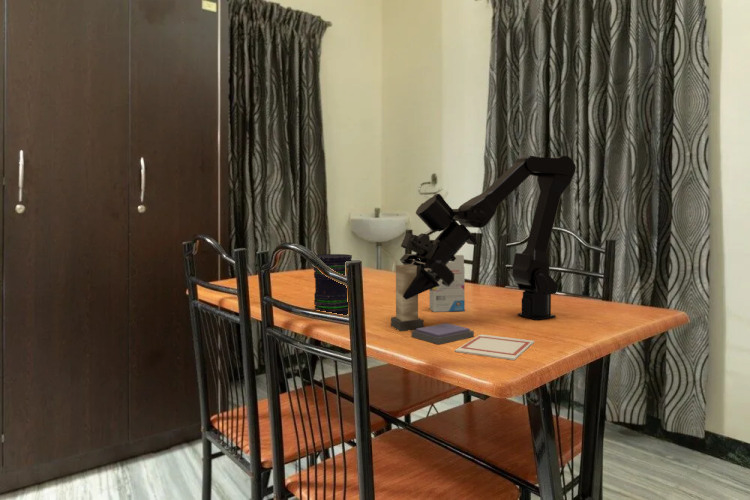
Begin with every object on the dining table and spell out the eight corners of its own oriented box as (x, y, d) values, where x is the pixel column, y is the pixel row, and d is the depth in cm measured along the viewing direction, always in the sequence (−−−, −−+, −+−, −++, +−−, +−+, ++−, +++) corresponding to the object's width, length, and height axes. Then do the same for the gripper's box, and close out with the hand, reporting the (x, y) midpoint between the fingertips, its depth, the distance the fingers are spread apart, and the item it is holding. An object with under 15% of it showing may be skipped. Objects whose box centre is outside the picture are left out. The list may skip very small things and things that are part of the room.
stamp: (413, 324, 117) (413, 263, 116) (423, 329, 111) (423, 266, 110) (391, 325, 115) (390, 264, 114) (399, 331, 110) (399, 267, 109)
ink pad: (446, 329, 110) (446, 322, 110) (473, 336, 104) (473, 328, 104) (411, 336, 104) (411, 328, 104) (438, 344, 98) (438, 335, 98)
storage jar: (338, 319, 123) (337, 258, 122) (306, 315, 128) (305, 256, 127) (360, 312, 131) (359, 254, 130) (329, 308, 136) (329, 253, 135)
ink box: (459, 307, 136) (460, 253, 135) (464, 311, 131) (465, 254, 130) (428, 308, 135) (428, 253, 134) (432, 312, 130) (432, 255, 129)
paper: (480, 335, 105) (480, 333, 105) (534, 342, 99) (534, 340, 99) (454, 351, 93) (454, 349, 93) (514, 360, 87) (514, 357, 87)
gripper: (407, 220, 121) (364, 267, 119) (441, 221, 104) (390, 277, 101) (437, 252, 124) (395, 299, 122) (475, 258, 107) (427, 313, 104)
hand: (401, 296), depth 112 cm, fingers closed on stamp, 4 cm apart
